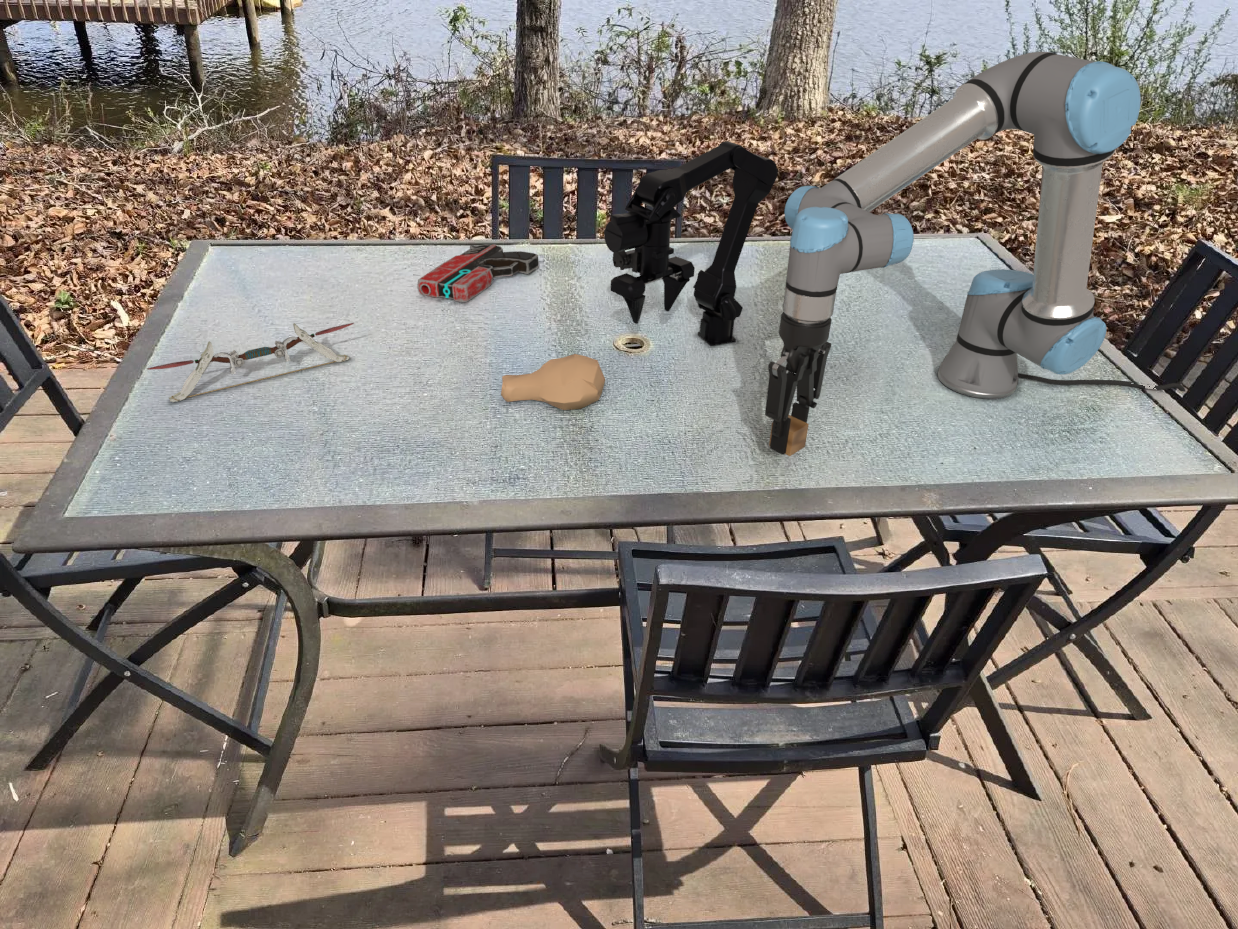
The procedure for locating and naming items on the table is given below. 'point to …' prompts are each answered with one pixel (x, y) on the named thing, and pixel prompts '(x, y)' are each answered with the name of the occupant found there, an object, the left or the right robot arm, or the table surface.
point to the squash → (558, 383)
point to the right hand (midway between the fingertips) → (786, 444)
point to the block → (795, 436)
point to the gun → (474, 272)
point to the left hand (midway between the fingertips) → (651, 316)
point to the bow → (250, 354)
